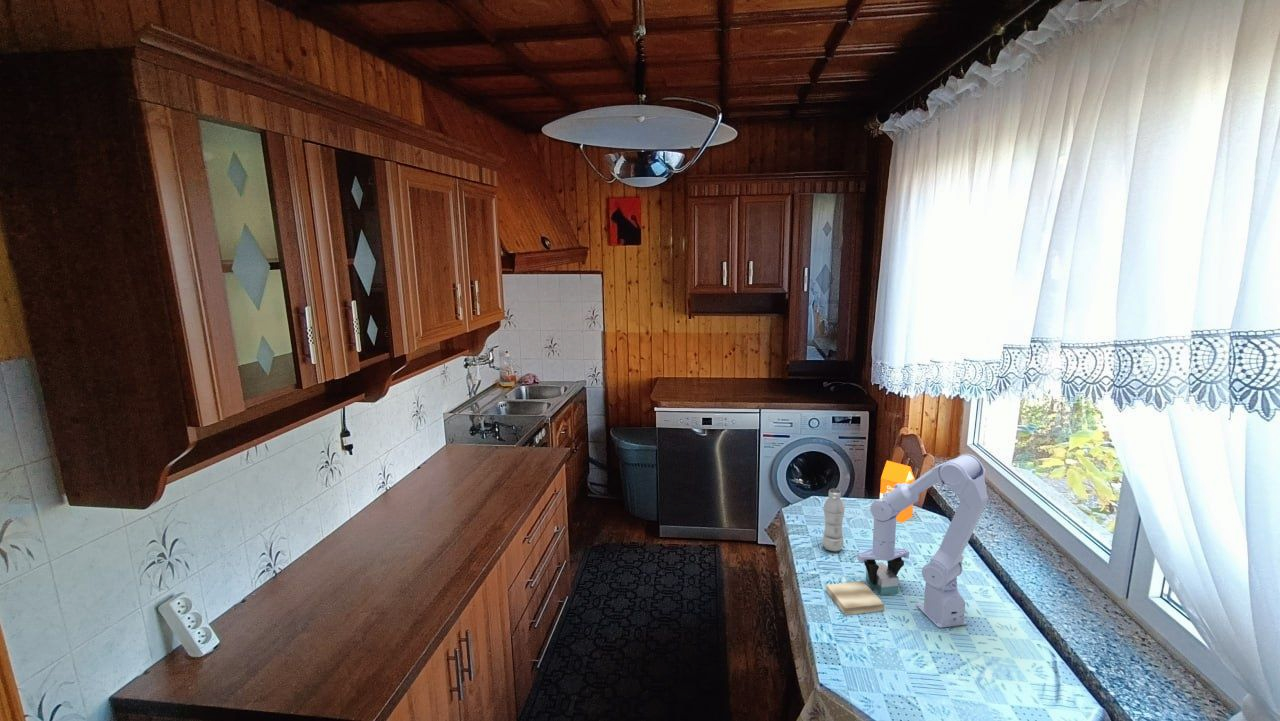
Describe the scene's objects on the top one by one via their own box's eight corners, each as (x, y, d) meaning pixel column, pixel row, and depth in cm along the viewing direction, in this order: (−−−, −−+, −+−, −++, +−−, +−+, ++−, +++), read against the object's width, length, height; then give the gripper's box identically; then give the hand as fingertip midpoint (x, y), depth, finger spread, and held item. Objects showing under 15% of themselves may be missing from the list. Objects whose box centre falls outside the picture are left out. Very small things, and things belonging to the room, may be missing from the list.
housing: (897, 593, 156) (898, 577, 155) (881, 595, 155) (881, 579, 155) (881, 577, 164) (882, 562, 163) (865, 579, 163) (866, 563, 162)
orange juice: (888, 508, 208) (891, 457, 204) (912, 516, 201) (916, 463, 198) (878, 514, 203) (881, 463, 199) (902, 523, 196) (906, 469, 193)
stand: (883, 610, 149) (884, 604, 148) (844, 615, 147) (845, 608, 147) (862, 587, 160) (862, 580, 159) (826, 591, 158) (826, 584, 158)
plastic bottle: (820, 551, 179) (822, 493, 176) (824, 542, 185) (826, 485, 182) (841, 556, 176) (843, 497, 173) (844, 546, 182) (846, 488, 179)
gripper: (899, 529, 162) (897, 571, 164) (852, 533, 160) (850, 576, 162) (914, 541, 155) (911, 585, 157) (865, 545, 153) (863, 590, 156)
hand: (881, 581), depth 159 cm, fingers closed on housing, 5 cm apart
